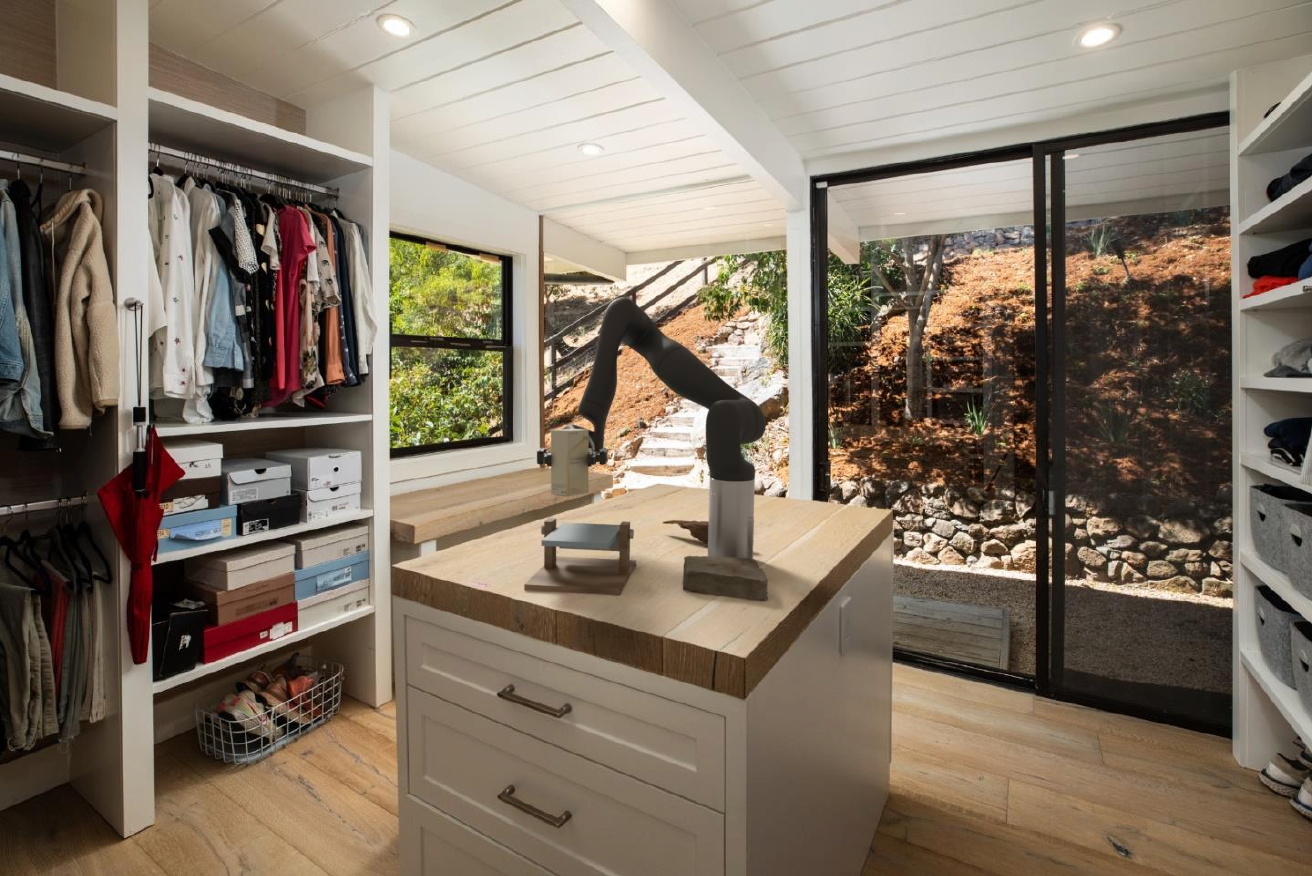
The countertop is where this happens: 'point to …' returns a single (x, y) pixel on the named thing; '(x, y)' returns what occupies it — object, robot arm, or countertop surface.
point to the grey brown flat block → (725, 577)
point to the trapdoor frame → (584, 568)
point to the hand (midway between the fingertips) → (569, 460)
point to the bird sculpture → (694, 528)
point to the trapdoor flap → (584, 537)
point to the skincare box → (569, 462)
